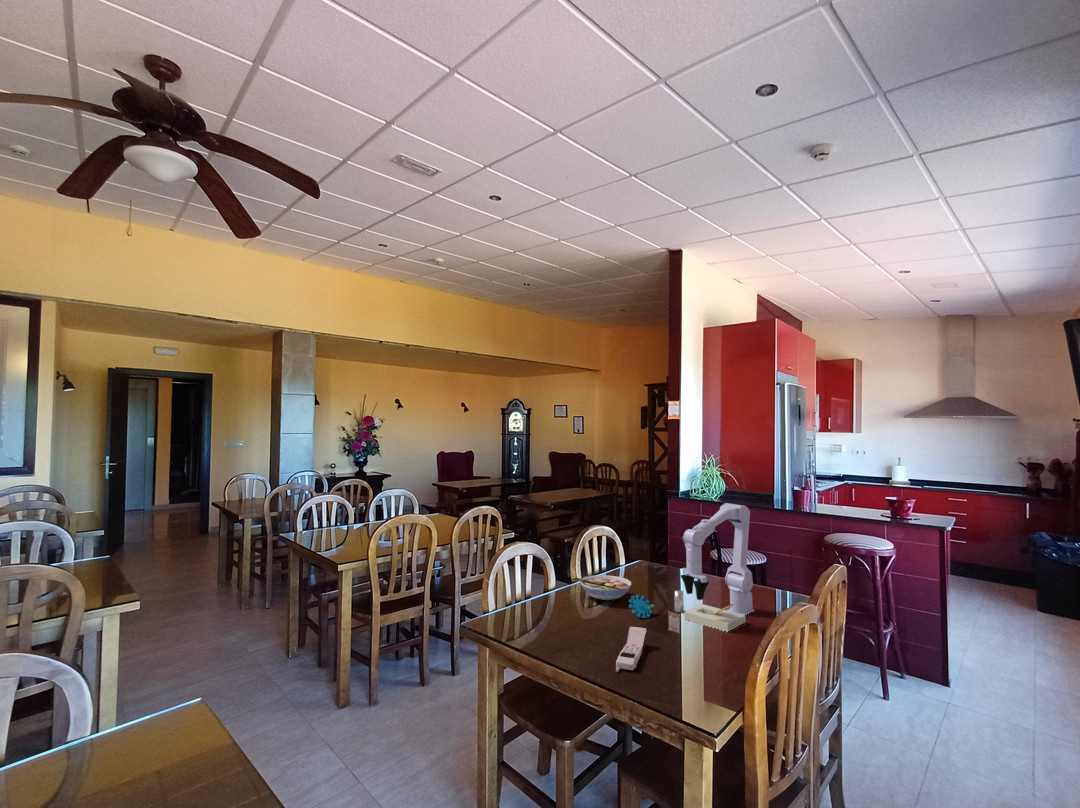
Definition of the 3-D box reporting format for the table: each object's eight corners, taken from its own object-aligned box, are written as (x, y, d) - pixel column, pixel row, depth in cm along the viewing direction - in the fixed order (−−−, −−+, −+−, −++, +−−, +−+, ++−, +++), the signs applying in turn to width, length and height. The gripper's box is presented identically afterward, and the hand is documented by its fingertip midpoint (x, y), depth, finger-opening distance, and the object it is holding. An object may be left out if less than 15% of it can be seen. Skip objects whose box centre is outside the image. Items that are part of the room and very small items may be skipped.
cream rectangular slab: (703, 611, 211) (703, 604, 211) (745, 623, 198) (745, 615, 198) (684, 619, 202) (684, 611, 202) (727, 632, 188) (727, 624, 189)
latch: (713, 614, 199) (713, 613, 199) (717, 613, 201) (717, 611, 201) (729, 606, 194) (728, 605, 194) (733, 605, 196) (732, 603, 196)
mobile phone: (646, 627, 177) (632, 655, 154) (647, 645, 177) (632, 676, 154) (629, 625, 180) (612, 652, 156) (630, 643, 179) (613, 672, 156)
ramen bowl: (643, 598, 228) (643, 580, 229) (615, 611, 211) (615, 591, 212) (597, 587, 245) (597, 570, 245) (567, 598, 228) (567, 579, 228)
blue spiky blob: (633, 616, 200) (627, 592, 208) (627, 623, 204) (621, 600, 211) (658, 617, 204) (651, 594, 211) (651, 624, 207) (644, 601, 215)
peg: (677, 609, 214) (677, 589, 215) (685, 611, 211) (685, 591, 212) (672, 611, 212) (672, 591, 212) (680, 613, 209) (680, 593, 210)
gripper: (675, 557, 206) (675, 591, 206) (694, 566, 192) (695, 603, 191) (691, 556, 208) (691, 590, 207) (711, 564, 194) (712, 601, 193)
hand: (694, 596), depth 199 cm, fingers open, 7 cm apart
